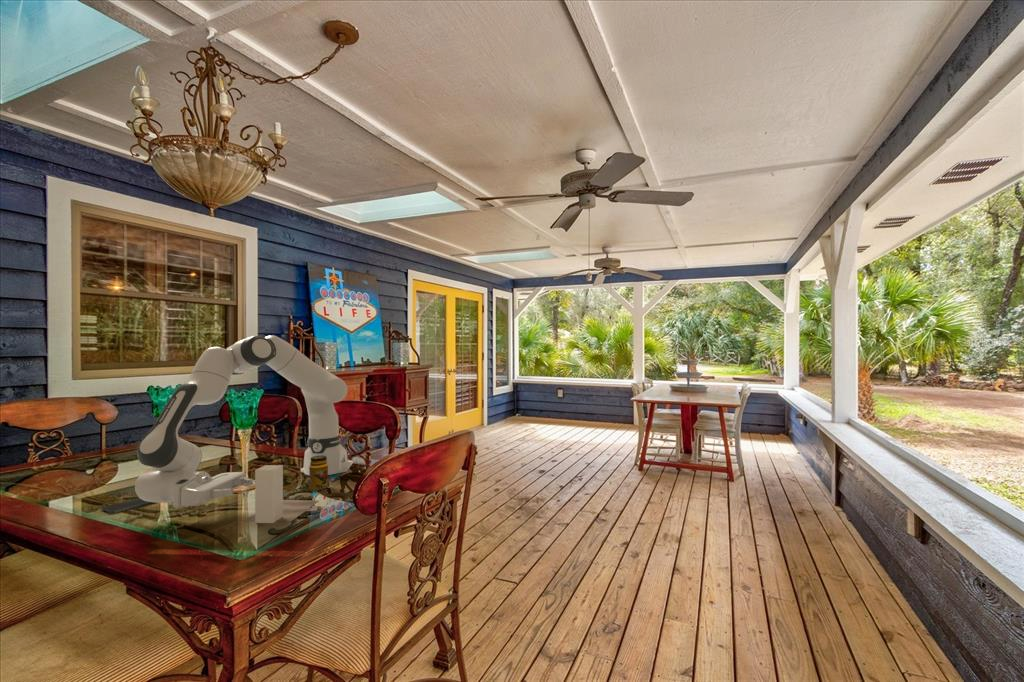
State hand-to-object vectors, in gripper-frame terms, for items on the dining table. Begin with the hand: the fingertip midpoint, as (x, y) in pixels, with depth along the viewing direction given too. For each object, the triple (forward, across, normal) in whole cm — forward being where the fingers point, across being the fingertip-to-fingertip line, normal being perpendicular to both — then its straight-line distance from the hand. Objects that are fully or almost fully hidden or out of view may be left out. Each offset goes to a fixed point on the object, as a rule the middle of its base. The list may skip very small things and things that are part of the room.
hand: (242, 487), depth 136 cm
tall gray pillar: (+8, 0, -9) cm, 12 cm away
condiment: (+8, -30, -10) cm, 32 cm away
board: (+8, -8, -10) cm, 15 cm away
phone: (-44, -14, -11) cm, 47 cm away
